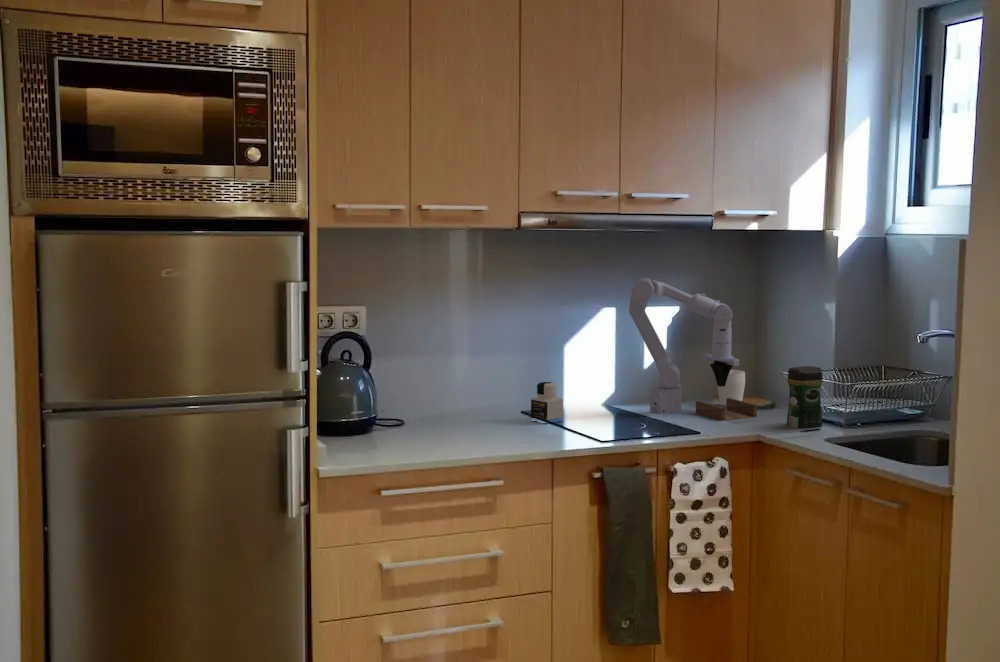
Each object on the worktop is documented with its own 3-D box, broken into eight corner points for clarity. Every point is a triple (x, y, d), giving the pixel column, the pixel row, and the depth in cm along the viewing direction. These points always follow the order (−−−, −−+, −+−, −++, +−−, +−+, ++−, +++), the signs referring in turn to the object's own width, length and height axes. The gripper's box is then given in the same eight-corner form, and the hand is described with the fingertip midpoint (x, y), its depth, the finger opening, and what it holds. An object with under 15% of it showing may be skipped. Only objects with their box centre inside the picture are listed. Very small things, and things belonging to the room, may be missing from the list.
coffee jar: (809, 425, 290) (811, 363, 288) (826, 431, 283) (828, 367, 281) (781, 428, 287) (782, 365, 285) (797, 433, 280) (799, 369, 278)
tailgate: (724, 423, 293) (736, 426, 288) (724, 420, 293) (736, 423, 288) (754, 420, 298) (766, 423, 293) (754, 416, 298) (766, 419, 293)
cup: (727, 404, 326) (728, 368, 324) (750, 408, 319) (751, 371, 318) (710, 407, 320) (711, 371, 319) (733, 411, 313) (734, 374, 312)
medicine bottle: (530, 421, 301) (530, 382, 300) (547, 418, 306) (546, 380, 304) (547, 424, 296) (546, 385, 294) (563, 421, 300) (563, 382, 299)
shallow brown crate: (722, 424, 293) (722, 408, 292) (695, 417, 304) (695, 401, 304) (756, 420, 298) (756, 404, 298) (729, 413, 310) (729, 398, 309)
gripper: (747, 344, 299) (746, 388, 301) (717, 339, 312) (717, 381, 314) (728, 345, 296) (728, 390, 298) (699, 340, 309) (699, 383, 311)
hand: (721, 386), depth 306 cm, fingers closed
